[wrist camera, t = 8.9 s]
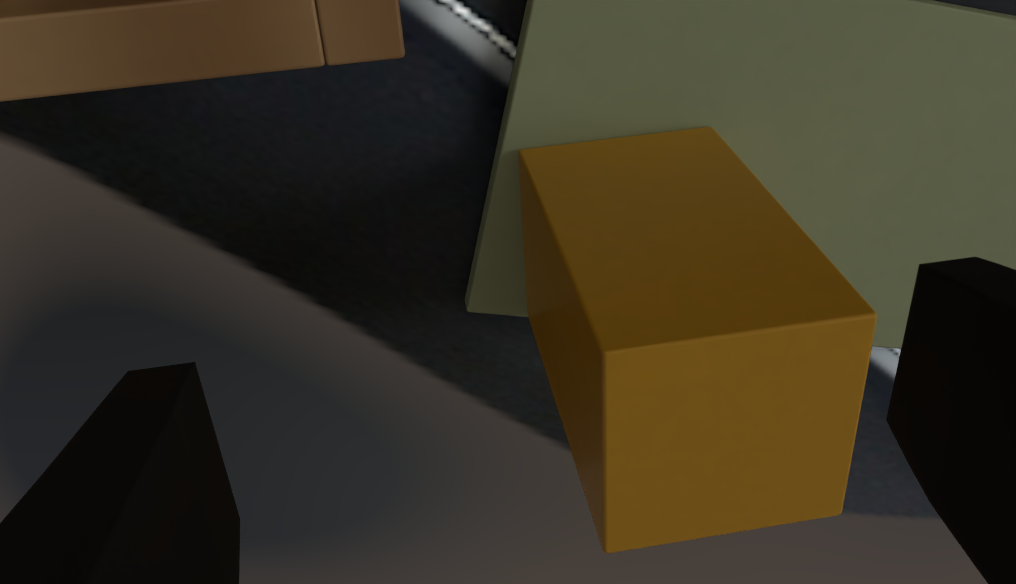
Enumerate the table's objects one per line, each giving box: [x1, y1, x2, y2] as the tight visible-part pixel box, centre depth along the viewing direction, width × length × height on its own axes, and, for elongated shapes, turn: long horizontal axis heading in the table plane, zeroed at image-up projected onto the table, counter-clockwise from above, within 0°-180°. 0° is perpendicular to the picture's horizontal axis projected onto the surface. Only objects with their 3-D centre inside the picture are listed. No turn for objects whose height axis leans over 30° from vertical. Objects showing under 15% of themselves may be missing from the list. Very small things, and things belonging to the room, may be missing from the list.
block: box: [518, 127, 877, 553], centre depth 17 cm, size 4×4×7 cm
